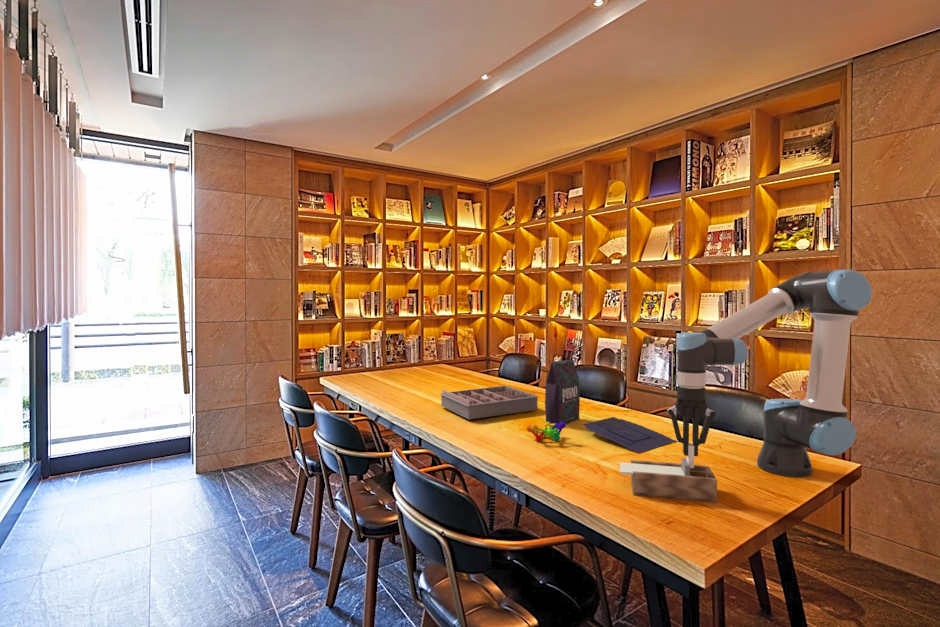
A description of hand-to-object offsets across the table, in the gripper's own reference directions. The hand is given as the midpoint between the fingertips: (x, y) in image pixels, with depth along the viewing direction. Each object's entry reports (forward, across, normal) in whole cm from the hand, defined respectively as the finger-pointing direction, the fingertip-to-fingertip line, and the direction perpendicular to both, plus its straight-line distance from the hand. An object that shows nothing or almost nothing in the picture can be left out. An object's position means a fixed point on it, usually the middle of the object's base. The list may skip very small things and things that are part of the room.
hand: (690, 466), depth 139 cm
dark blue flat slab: (+8, +15, -51) cm, 54 cm away
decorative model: (+8, +46, -41) cm, 62 cm away
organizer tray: (+8, +80, -84) cm, 116 cm away
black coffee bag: (+8, +42, -70) cm, 82 cm away
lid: (+3, +10, 0) cm, 10 cm away
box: (+8, +5, 0) cm, 9 cm away
